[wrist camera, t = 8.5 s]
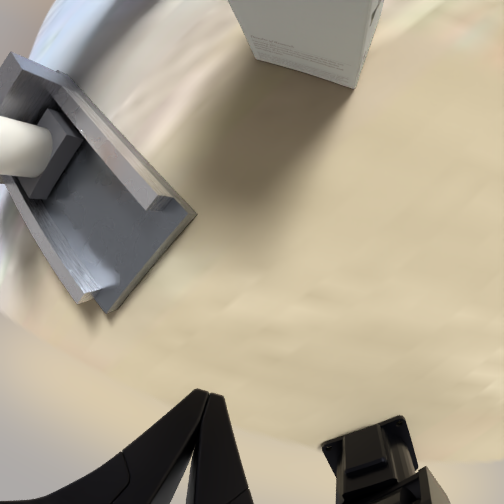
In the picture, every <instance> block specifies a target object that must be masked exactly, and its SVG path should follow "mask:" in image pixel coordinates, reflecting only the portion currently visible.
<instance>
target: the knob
mask: <svg viewBox="0 0 504 504" xmlns="http://www.w3.org/2000/svg"><path fill="white" fill-rule="evenodd" d="M83 140H84V139H83V138H82V136H81V135H80V134H79V133H78V131H77V130H76V129H75V128H74V126H73V125H72V124H71V123H70V121H69V120H68V119H67V117H66V116H65V115H64V114H63V113H60V112H57V111H54V110H51V109H48V108H47V110H46V111H45V113H44V114H43V116H42V118H41V119H40V121H39V122H38V124H37V126H36V125H33V124H29V123H25V122H22V121H18V120H14V119H10V118H6V117H2V116H0V174H1V175H11V176H17V177H18V179H19V181H20V183H21V185H22V187H23V188H24V190H25V192H26V194H27V196H28V197H29V198H33V199H47V197H48V196H49V194H50V192H51V190H52V189H53V187H54V185H55V184H56V182H57V180H58V179H59V177H60V175H61V174H62V172H63V171H64V169H65V167H66V166H67V164H68V163H69V161H70V160H71V158H72V156H73V155H74V153H75V152H76V150H77V149H78V148H79V146H80V145H81V143H82V142H83Z"/></svg>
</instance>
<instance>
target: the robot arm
mask: <svg viewBox="0 0 504 504" xmlns="http://www.w3.org/2000/svg"><path fill="white" fill-rule="evenodd" d="M398 421H401V422H400V423H398V424H397V422H398ZM327 446H331V447H330V448H327ZM193 450H194V452H193ZM322 451H323V453H324V455H325V457H326V458H327V461H328V463H329V464H330V467H331V468H332V471H333V472H334V474H335V476H336V478H337V479H336V504H450V501H449V499H448V497H447V495H446V493H445V492H444V490H443V489H442V488H441V486H440V485H439V484H438V482H437V481H436V479H435V478H434V476H433V475H432V474H431V472H430V471H429V469H428V468H427V467H426V466H425V467H423V468H422V469H420V470H418V472H417V473H415V471H416V470H417V469H418V463H417V459H416V455H415V452H414V448H413V444H412V441H411V437H410V434H409V430H408V427H407V424H406V420H405V418H404V417H403V416H400V415H399V416H396V417H394V418H391V419H389V420H386V421H384V422H381V423H378V424H375V425H373V426H370V427H367V428H364V429H362V430H359V431H356V432H353V433H350V434H347V435H345V436H341V437H338V438H335V439H332V440H329V441H326V442H324V443H323V445H322ZM192 453H193V456H192ZM191 456H192V461H191V468H190V475H189V483H188V491H187V498H186V504H254V503H253V500H252V497H251V493H250V490H249V489H248V484H247V480H246V477H245V474H244V470H243V466H242V463H241V460H240V456H239V452H238V449H237V445H236V441H235V437H234V433H233V430H232V426H231V422H230V418H229V414H228V410H227V406H226V402H225V398H224V396H222V395H219V394H215V393H210V394H209V392H208V391H205V390H201V389H198V388H197V389H194V390H193V391H192V392H191V393H190V394H189V395H187V396H186V397H185V398H184V399H183V400H182V401H181V402H179V403H178V404H177V405H176V406H175V407H174V408H173V409H171V410H170V411H169V412H168V413H167V414H166V415H164V416H163V417H162V418H161V419H160V420H158V421H157V422H156V423H155V424H154V425H153V426H151V427H150V428H149V429H148V430H147V431H145V432H144V433H143V434H142V435H141V436H139V437H138V438H137V439H136V440H134V441H133V442H132V443H131V444H129V445H128V446H127V447H126V448H124V449H123V450H122V452H119V453H118V454H117V455H115V456H114V457H113V458H112V459H110V460H109V461H108V462H106V463H105V464H103V465H102V466H101V467H99V468H98V469H96V470H94V471H93V472H91V473H89V474H88V475H86V476H84V477H82V478H80V479H78V480H77V481H75V482H73V483H71V484H69V485H67V486H65V487H63V488H61V489H59V490H57V491H55V492H53V493H51V494H49V495H47V496H44V497H40V498H37V499H31V500H20V501H0V504H170V502H171V500H172V498H173V495H174V493H175V491H176V489H177V487H178V485H179V483H180V481H181V478H182V476H183V474H184V472H185V470H186V468H187V465H188V463H189V461H190V459H191Z"/></svg>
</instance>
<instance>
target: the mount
mask: <svg viewBox="0 0 504 504" xmlns="http://www.w3.org/2000/svg"><path fill="white" fill-rule="evenodd" d="M47 108H48V109H51V110H54V111H57V112H60V113H63V114H64V115H65V116H66V117H67V119H68V120H69V121H70V123H71V124H72V125H73V126H74V128H75V129H76V130H77V131H78V133H79V134H80V135H81V136H82V138H83V139H84V140H83V142H82V143H81V145H80V146H79V148H78V149H77V150H76V152H75V153H74V155H73V156H72V158H71V160H70V161H69V163H68V164H67V166H66V167H65V169H64V171H63V172H62V174H61V175H60V177H59V179H58V180H57V182H56V184H55V185H54V187H53V189H52V190H51V192H50V194H49V196H48V197H47V199H33V198H29V197H28V196H27V194H26V192H25V190H24V188H23V187H22V185H21V183H20V181H19V179H18V177H17V176H11V175H1V174H0V184H5V185H6V187H7V189H8V191H9V193H10V195H11V197H12V199H13V201H14V203H15V205H16V207H17V209H18V211H19V213H20V214H21V216H22V218H23V220H24V222H25V224H26V225H27V227H28V229H29V231H30V232H31V234H32V236H33V238H34V239H35V241H36V243H37V244H38V246H39V248H40V249H41V251H42V253H43V254H44V256H45V257H46V259H47V261H48V262H49V264H50V265H51V267H52V268H53V270H54V271H55V273H56V275H57V276H58V278H59V279H60V281H61V282H62V283H63V285H64V286H65V288H66V289H67V291H68V292H69V294H70V295H71V296H72V298H73V299H74V301H75V302H76V303H77V304H80V303H83V302H86V301H89V300H92V299H95V300H96V302H97V303H98V304H99V306H100V307H101V308H102V309H103V311H104V312H105V313H106V314H107V313H109V312H112V311H114V310H117V309H118V308H119V306H120V305H121V304H122V303H123V301H124V300H125V299H126V298H127V296H128V295H129V294H130V293H131V291H132V290H133V289H134V288H135V286H136V285H137V284H138V283H139V282H140V280H141V279H142V278H143V277H144V276H145V274H146V273H147V272H148V271H149V270H150V268H151V267H152V266H153V265H154V264H155V262H156V261H157V260H158V259H159V258H160V256H161V255H162V254H163V253H164V252H165V251H166V249H167V248H168V247H169V246H170V245H171V244H172V242H173V241H174V240H175V239H176V238H177V237H178V236H179V234H180V233H181V232H182V231H183V230H184V229H185V228H186V226H187V225H188V224H189V223H190V222H191V221H192V220H193V219H194V217H195V216H196V215H197V213H196V212H195V211H194V210H193V209H192V208H191V207H190V206H189V205H188V204H187V203H186V202H185V201H184V200H183V198H182V197H181V196H180V195H179V194H178V193H177V192H176V191H175V190H174V189H173V188H172V187H171V186H170V185H169V184H168V183H167V182H166V180H165V179H164V178H163V177H162V176H161V175H160V174H159V173H158V172H157V171H156V170H155V169H154V168H153V167H152V166H151V165H150V163H149V162H148V161H147V160H146V159H145V158H144V157H143V156H142V155H141V154H140V153H139V152H138V151H137V150H136V149H135V147H134V146H133V145H132V144H131V143H130V142H129V141H128V140H127V139H126V138H125V137H124V136H123V135H122V134H121V132H120V131H119V130H118V129H117V128H116V127H115V126H114V125H113V124H112V123H111V122H110V121H109V120H108V118H107V117H106V116H105V115H104V114H103V113H102V112H101V111H100V110H99V109H98V108H97V107H96V105H95V104H94V103H93V102H92V101H91V100H90V99H89V98H88V97H87V96H86V95H85V94H84V92H83V91H82V90H81V89H80V88H79V87H78V86H77V85H76V84H75V83H74V82H73V80H72V79H71V78H70V77H69V76H68V75H67V74H65V73H63V72H61V71H59V70H57V71H53V70H51V69H49V68H47V67H45V66H43V65H40V64H38V63H36V62H34V61H32V60H29V59H27V58H25V57H22V56H20V55H18V54H15V53H13V52H10V53H9V55H8V56H7V58H6V59H5V61H4V63H3V64H2V66H1V67H0V116H2V117H6V118H10V119H14V120H18V121H22V122H25V123H29V124H33V125H36V126H37V124H38V122H39V121H40V119H41V118H42V116H43V114H44V113H45V111H46V110H47Z"/></svg>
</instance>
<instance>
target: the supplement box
mask: <svg viewBox="0 0 504 504" xmlns="http://www.w3.org/2000/svg"><path fill="white" fill-rule="evenodd" d="M228 2H229V4H230V6H231V8H232V10H233V12H234V14H235V16H236V18H237V20H238V22H239V24H240V26H241V28H242V30H243V33H244V35H245V37H246V39H247V41H248V43H249V46H250V48H251V50H252V52H253V54H254V56H255V59H257V60H261V61H265V62H269V63H272V64H276V65H280V66H284V67H287V68H290V69H294V70H297V71H301V72H304V73H307V74H310V75H313V76H317V77H320V78H323V79H325V80H329V81H332V82H335V83H337V84H340V85H343V86H346V87H349V88H352V89H354V88H356V85H357V82H358V79H359V76H360V73H361V70H362V67H363V64H364V61H365V58H366V55H367V53H368V50H369V47H370V44H371V41H372V38H373V35H374V32H375V29H376V26H377V24H378V21H379V19H380V16H381V11H382V7H383V2H384V0H228Z"/></svg>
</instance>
